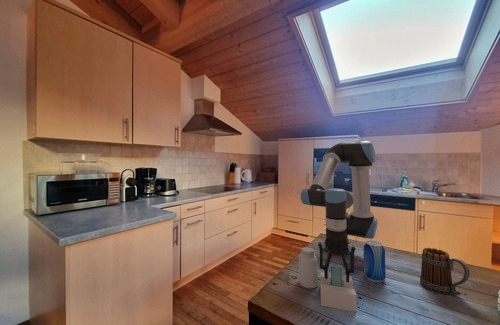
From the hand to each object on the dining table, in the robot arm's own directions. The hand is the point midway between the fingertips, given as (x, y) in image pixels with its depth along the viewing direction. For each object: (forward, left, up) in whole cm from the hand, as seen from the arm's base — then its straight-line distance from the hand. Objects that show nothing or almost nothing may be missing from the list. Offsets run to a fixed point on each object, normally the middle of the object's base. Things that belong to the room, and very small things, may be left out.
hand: (336, 288), depth 82 cm
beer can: (-20, +17, -4) cm, 27 cm away
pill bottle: (-7, -11, -4) cm, 13 cm away
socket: (0, 0, -4) cm, 4 cm away
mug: (-18, +42, -4) cm, 46 cm away
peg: (0, 0, -4) cm, 4 cm away
